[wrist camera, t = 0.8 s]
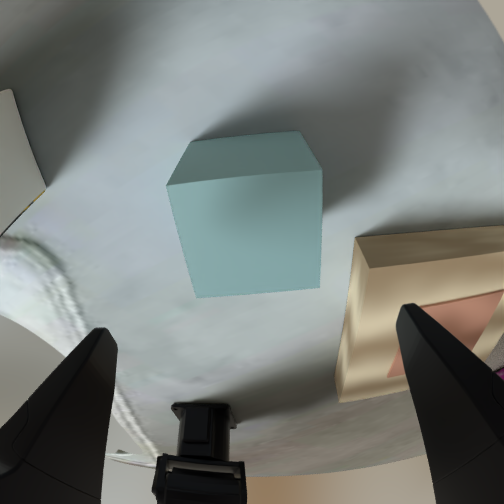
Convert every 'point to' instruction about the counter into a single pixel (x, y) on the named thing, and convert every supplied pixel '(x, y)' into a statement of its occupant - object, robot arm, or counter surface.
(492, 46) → the counter surface
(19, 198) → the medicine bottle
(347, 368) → the stack base
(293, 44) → the counter surface
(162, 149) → the counter surface
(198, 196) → the teal block
